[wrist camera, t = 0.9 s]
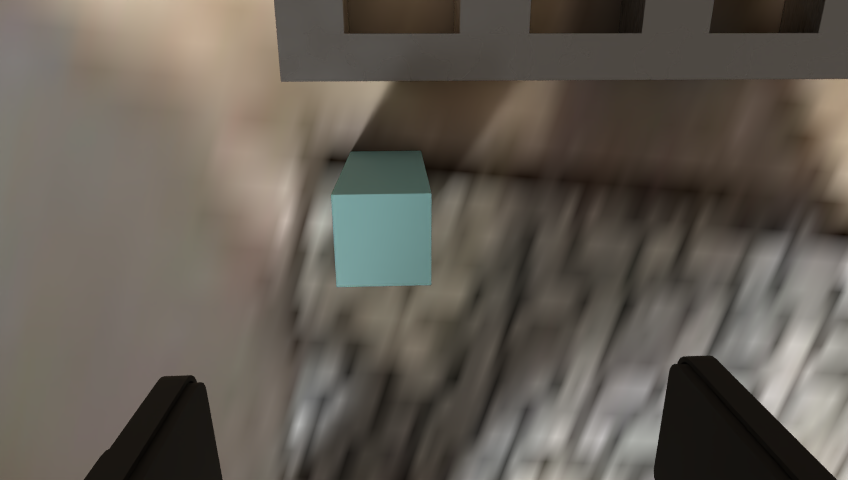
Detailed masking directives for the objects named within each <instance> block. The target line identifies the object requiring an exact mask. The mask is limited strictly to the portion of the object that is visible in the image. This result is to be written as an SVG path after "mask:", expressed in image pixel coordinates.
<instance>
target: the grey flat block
mask: <svg viewBox="0 0 848 480" xmlns="http://www.w3.org/2000/svg"><path fill="white" fill-rule="evenodd" d="M274 5H275V17H276V28H277V40H278V52H279V64H280V76H281V82H288V81H495V80H702V79H848V0H786V1H785V6H784V11H783V16H782V21H781V26H780V31H779V33H709V31H710V24H711V18H712V11H713V5H714V0H622V6H621V16H620V25H619V33H529V29H530V11H531V0H454V34H349V18H348V0H274Z"/></svg>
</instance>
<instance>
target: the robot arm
mask: <svg viewBox="0 0 848 480" xmlns="http://www.w3.org/2000/svg"><path fill="white" fill-rule="evenodd" d="M654 478H655V480H837V479H836V478H835V477H834V476H833V475H832V474H831V473H830V472H829V471H828V470H827V469H826V468H825V467H824V466H823V465H822V464H821V463H820V462H819V461H818V460H817V459H816V458H815V457H814V456H813V455H812V454H811V453H810V452H809V451H808V450H807V449H806V448H805V447H804V446H803V445H802V444H801V443H800V442H799V441H798V440H797V439H796V438H795V437H794V436H793V435H792V434H791V433H790V432H789V431H788V430H787V429H786V428H785V427H784V426H783V425H782V424H781V423H780V422H779V421H778V420H777V419H776V418H775V417H774V416H773V415H772V414H771V413H770V412H769V411H768V410H767V409H766V408H765V407H764V406H763V405H762V404H761V403H760V402H759V401H758V400H757V399H756V398H755V397H754V396H753V395H752V394H751V393H750V392H749V391H748V390H747V389H746V388H745V387H744V386H743V385H742V384H741V383H740V382H739V381H738V380H737V379H736V378H735V377H734V376H733V375H732V374H731V373H730V372H729V371H728V370H727V369H726V368H725V367H724V366H723V365H722V364H721V363H720V362H719V361H718V360H717V359H716V358H714V357H713V356H686V357H681V358H680V359H679V361H678V363H677V364H674V365H672V366H671V368H670V371H669V377H668V383H667V390H666V396H665V402H664V409H663V415H662V421H661V427H660V434H659V440H658V446H657V453H656V459H655V465H654ZM84 480H222V474H221V469H220V463H219V457H218V452H217V446H216V441H215V435H214V430H213V424H212V419H211V413H210V408H209V402H208V397H207V391H206V387H205V385H204V383H202V382H199V383H197V381H196V379H195V377H194V376H192V375H187V376H164V377H161V378H160V379H159V380H158V382H157V383H156V384H155V386H154V387H153V389H152V390H151V391H150V393H149V394H148V396H147V397H146V398H145V400H144V401H143V403H142V404H141V405H140V407H139V408H138V410H137V411H136V412H135V414H134V415H133V417H132V418H131V419H130V421H129V422H128V424H127V425H126V426H125V428H124V429H123V431H122V432H121V433H120V435H119V436H118V438H117V439H116V440H115V442H114V443H113V445H112V446H111V447H110V449H108V450H106V451H105V452H104V453H103V454H102V456H101V457H100V458H99V459H98V461H97V462H96V463H95V465H94V466H93V468H92V469H91V470H90V472H89V473H88V475H87V476H86V477H85V479H84Z"/></svg>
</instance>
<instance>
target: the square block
mask: <svg viewBox="0 0 848 480" xmlns="http://www.w3.org/2000/svg"><path fill="white" fill-rule="evenodd" d="M331 202H332V218H333V235H334V252H335V269H336V286H337V287H364V286H411V285H431V189H430V185H429V181H428V177H427V173H426V169H425V165H424V161H423V157H422V153H421V151H351V152H350V154H349V157H348V159H347V161H346V163H345V165H344V168H343V170H342V172H341V174H340V176H339V179H338V181H337V183H336V185H335V187H334V190H333V192H332V194H331Z"/></svg>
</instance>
